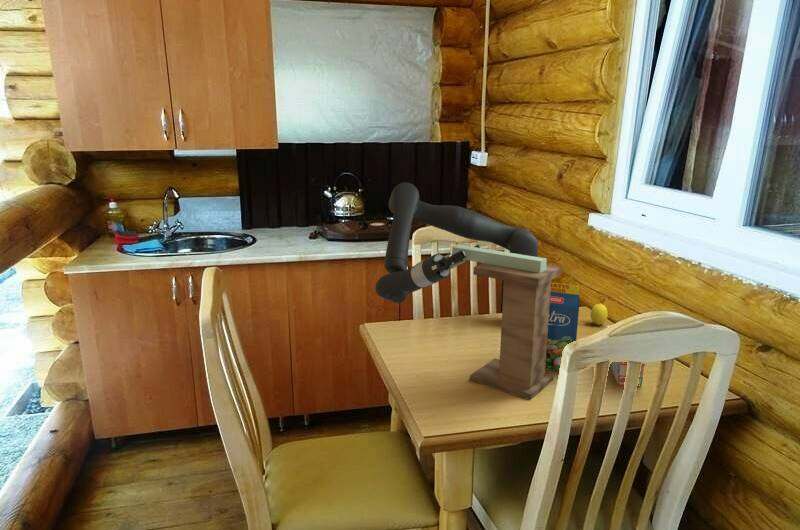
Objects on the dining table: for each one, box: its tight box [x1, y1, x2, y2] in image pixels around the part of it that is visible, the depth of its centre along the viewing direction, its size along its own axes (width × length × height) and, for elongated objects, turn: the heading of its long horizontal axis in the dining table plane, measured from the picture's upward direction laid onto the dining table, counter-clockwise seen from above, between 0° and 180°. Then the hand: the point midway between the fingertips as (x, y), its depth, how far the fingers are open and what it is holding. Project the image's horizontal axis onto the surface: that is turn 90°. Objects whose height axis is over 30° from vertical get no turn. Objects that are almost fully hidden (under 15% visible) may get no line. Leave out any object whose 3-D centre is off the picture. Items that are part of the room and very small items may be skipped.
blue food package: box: [545, 281, 581, 372], centre depth 159 cm, size 6×12×25 cm, turn 67°
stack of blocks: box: [606, 325, 646, 388], centre depth 159 cm, size 21×6×12 cm, turn 170°
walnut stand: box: [469, 263, 563, 401], centre depth 150 cm, size 14×18×32 cm
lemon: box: [590, 302, 608, 326], centre depth 194 cm, size 6×6×8 cm
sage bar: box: [451, 244, 547, 273], centre depth 149 cm, size 4×26×3 cm, turn 52°
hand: (472, 250), depth 153 cm, fingers open, 8 cm apart
